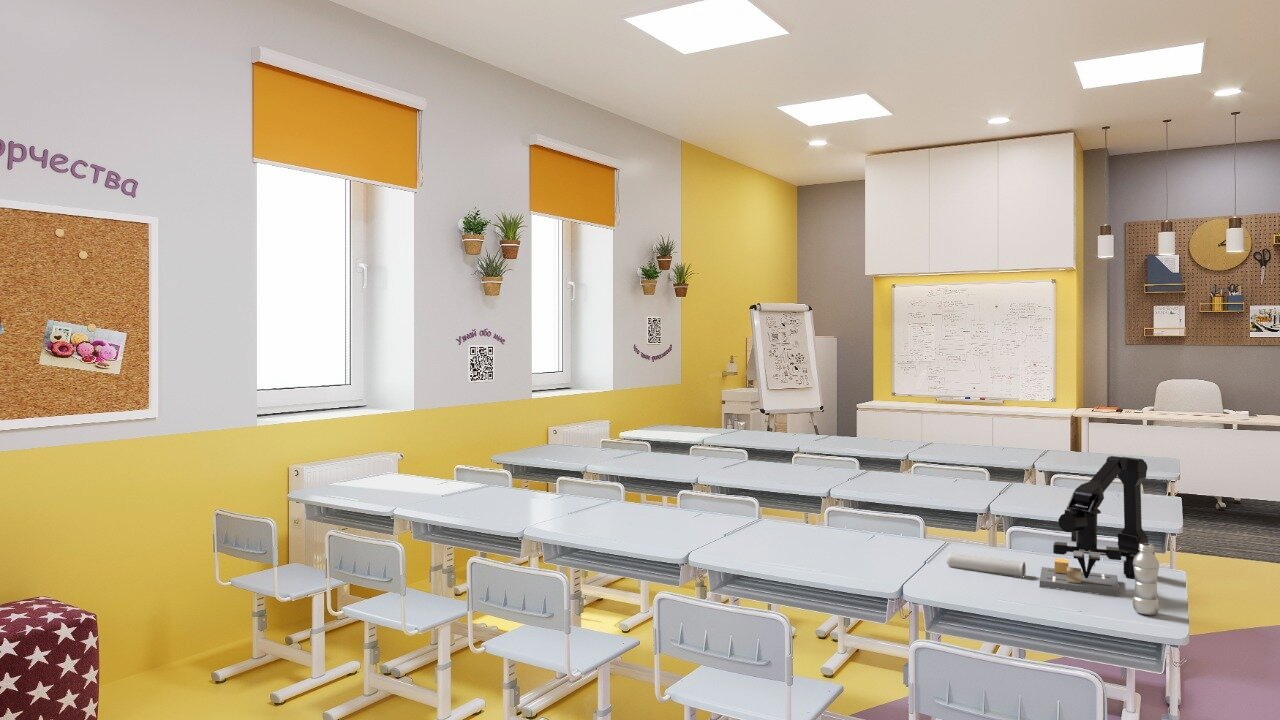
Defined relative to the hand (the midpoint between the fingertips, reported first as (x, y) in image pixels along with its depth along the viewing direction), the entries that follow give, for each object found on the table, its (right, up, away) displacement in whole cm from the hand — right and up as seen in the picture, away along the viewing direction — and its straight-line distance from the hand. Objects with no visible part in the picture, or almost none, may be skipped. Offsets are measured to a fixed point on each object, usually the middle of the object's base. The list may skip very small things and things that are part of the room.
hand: (1086, 577), depth 263 cm
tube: (-23, -4, +21) cm, 32 cm away
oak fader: (-3, -1, +2) cm, 4 cm away
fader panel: (0, -4, +6) cm, 7 cm away
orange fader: (-2, -1, +12) cm, 12 cm away
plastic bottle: (+4, -4, -24) cm, 24 cm away
